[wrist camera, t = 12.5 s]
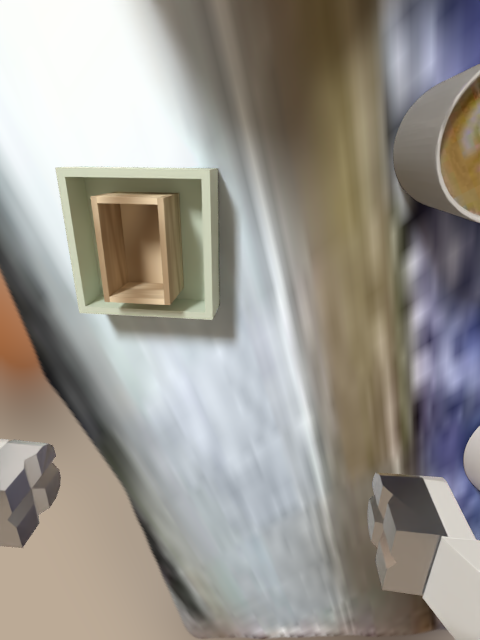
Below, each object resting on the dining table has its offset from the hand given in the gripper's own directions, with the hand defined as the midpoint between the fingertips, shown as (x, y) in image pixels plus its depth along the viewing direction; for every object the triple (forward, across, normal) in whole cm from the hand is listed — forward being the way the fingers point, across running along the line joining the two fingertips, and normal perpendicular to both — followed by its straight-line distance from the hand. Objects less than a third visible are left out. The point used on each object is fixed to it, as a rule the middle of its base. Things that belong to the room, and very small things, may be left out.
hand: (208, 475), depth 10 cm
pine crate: (+28, -11, 0) cm, 30 cm away
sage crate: (+29, -11, 0) cm, 31 cm away
